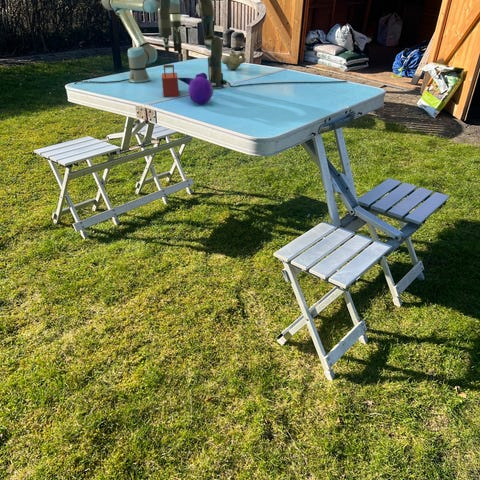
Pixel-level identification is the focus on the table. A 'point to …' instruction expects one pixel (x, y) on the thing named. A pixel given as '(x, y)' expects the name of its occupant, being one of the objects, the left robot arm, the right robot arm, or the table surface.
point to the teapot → (233, 60)
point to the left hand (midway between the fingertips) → (178, 52)
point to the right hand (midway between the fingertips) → (167, 55)
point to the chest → (170, 88)
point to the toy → (199, 88)
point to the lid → (169, 75)
